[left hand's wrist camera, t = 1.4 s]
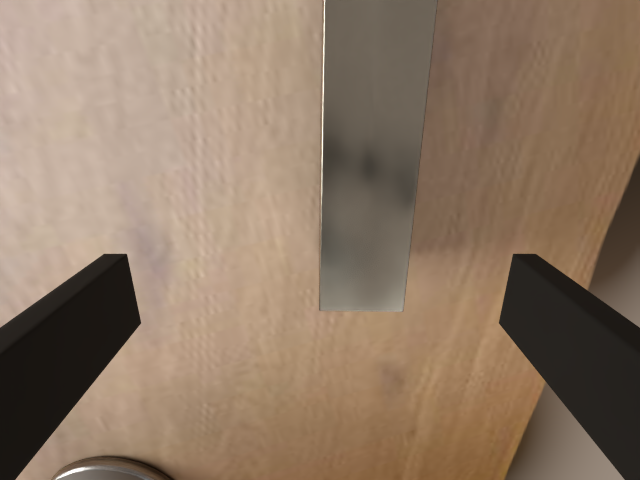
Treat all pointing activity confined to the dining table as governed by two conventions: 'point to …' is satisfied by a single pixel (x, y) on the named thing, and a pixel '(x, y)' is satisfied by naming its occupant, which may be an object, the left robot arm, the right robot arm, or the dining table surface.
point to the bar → (371, 147)
